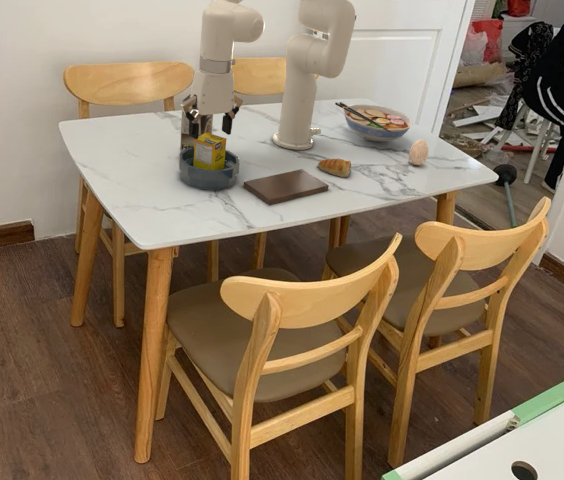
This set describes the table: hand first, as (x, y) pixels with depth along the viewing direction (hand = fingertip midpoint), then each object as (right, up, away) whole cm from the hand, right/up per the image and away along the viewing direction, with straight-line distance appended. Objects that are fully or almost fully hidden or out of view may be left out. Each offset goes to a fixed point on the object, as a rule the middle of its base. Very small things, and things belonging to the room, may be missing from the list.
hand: (210, 135), depth 151 cm
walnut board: (+19, -12, +8) cm, 24 cm away
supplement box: (-1, -10, +7) cm, 12 cm away
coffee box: (-6, -1, +18) cm, 19 cm away
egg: (+59, -1, +34) cm, 68 cm away
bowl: (-1, -9, +7) cm, 12 cm away
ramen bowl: (+48, +11, +48) cm, 69 cm away
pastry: (+33, -5, +21) cm, 40 cm away
